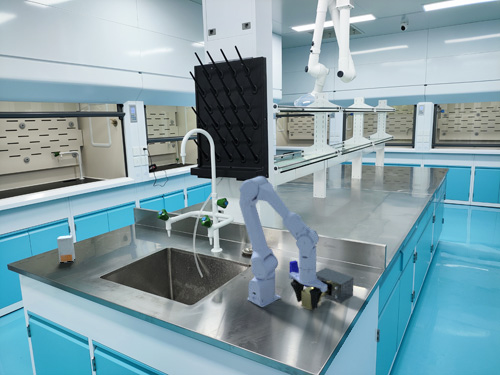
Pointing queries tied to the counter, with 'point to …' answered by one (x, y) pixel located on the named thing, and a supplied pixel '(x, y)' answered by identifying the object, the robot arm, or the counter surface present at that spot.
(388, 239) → the counter surface
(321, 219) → the counter surface
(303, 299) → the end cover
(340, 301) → the block
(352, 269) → the counter surface
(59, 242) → the skincare box
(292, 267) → the cable clip
